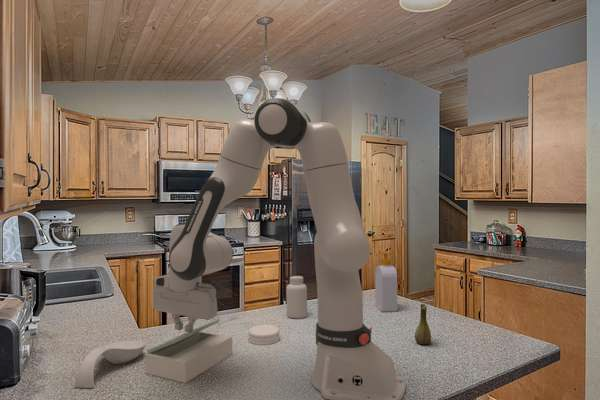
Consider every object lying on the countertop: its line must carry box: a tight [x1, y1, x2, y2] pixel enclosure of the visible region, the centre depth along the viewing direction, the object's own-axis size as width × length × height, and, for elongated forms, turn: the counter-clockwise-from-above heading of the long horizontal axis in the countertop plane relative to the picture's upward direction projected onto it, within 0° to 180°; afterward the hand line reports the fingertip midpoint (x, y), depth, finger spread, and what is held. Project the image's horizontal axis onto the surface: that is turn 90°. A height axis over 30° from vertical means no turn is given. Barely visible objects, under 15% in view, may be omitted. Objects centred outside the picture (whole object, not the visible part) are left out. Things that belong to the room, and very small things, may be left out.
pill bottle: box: [285, 275, 308, 320], centre depth 151 cm, size 8×8×15 cm
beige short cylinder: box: [247, 324, 281, 346], centre depth 126 cm, size 10×10×4 cm
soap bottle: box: [374, 252, 398, 313], centre depth 160 cm, size 9×7×23 cm
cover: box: [146, 319, 220, 354], centre depth 109 cm, size 10×19×1 cm, turn 155°
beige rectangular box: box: [145, 330, 233, 384], centre depth 108 cm, size 13×20×5 cm, turn 155°
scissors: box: [205, 315, 239, 333], centre depth 142 cm, size 11×1×20 cm
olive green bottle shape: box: [414, 303, 432, 345], centre depth 122 cm, size 6×5×12 cm
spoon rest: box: [74, 340, 146, 389], centre depth 105 cm, size 24×12×7 cm, turn 176°
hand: (183, 330), depth 108 cm, fingers closed
